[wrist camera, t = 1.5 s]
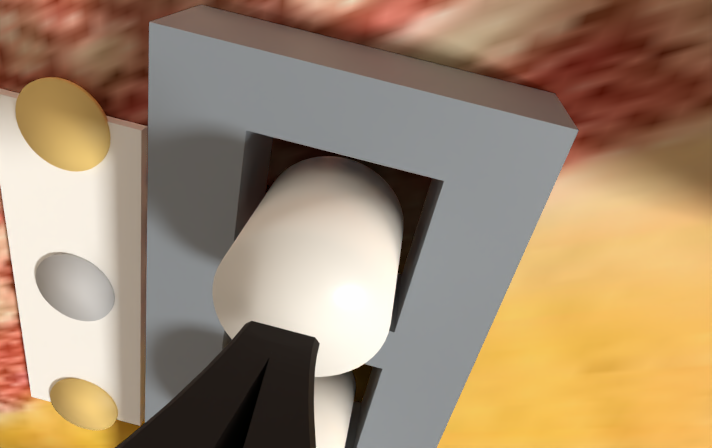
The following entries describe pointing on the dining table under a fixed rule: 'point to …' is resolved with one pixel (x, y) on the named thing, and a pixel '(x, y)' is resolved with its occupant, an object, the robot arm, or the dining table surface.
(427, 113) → the board
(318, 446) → the button mid
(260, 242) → the button
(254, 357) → the robot arm
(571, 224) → the dining table surface
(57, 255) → the pattern card
